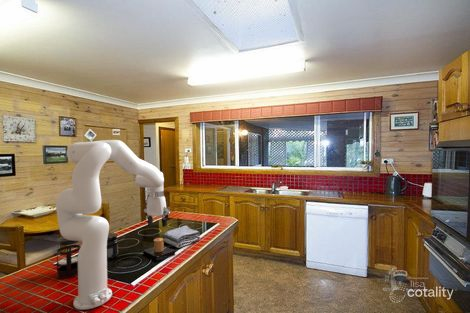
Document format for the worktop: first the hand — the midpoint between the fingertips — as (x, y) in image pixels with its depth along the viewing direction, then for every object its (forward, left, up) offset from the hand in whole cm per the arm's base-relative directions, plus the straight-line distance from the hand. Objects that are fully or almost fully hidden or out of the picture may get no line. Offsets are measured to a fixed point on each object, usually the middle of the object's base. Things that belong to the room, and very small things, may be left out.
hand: (157, 225), depth 131 cm
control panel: (-1, 0, -16) cm, 16 cm away
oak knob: (-1, 0, -14) cm, 14 cm away
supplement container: (+17, +20, -16) cm, 31 cm away
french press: (+12, +38, -16) cm, 43 cm away
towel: (+5, -20, -16) cm, 27 cm away
